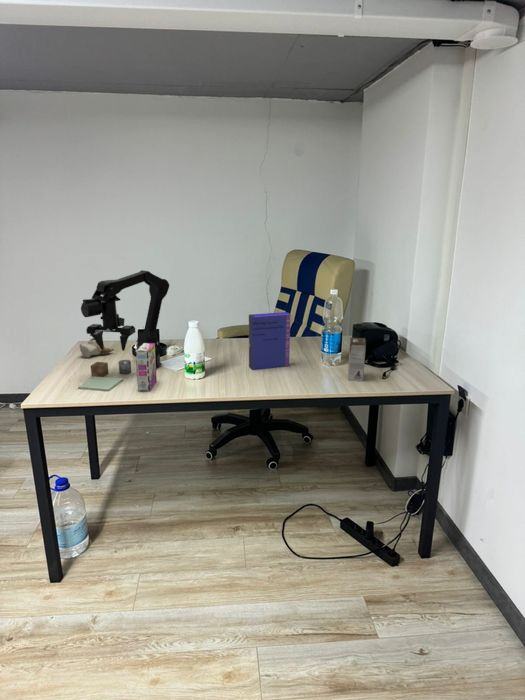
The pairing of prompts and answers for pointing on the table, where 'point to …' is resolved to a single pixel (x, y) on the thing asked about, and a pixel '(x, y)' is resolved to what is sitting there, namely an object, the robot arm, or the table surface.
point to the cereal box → (269, 340)
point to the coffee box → (356, 359)
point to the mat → (101, 383)
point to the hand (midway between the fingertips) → (113, 350)
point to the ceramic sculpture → (93, 349)
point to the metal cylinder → (125, 367)
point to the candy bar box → (146, 366)
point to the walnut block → (99, 369)
